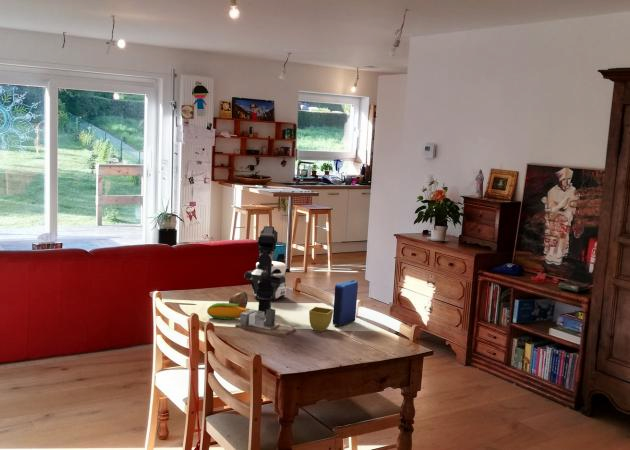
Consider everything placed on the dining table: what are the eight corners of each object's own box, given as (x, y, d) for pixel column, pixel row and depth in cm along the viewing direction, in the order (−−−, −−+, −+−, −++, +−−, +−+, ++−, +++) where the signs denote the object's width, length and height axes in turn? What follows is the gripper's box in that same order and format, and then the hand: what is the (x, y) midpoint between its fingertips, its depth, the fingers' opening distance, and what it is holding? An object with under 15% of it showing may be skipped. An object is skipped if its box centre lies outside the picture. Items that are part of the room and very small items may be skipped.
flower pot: (332, 328, 310) (333, 309, 308) (326, 333, 301) (327, 313, 300) (314, 325, 312) (315, 306, 311) (307, 330, 304) (308, 310, 303)
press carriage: (258, 321, 310) (259, 304, 308) (279, 325, 305) (280, 308, 304) (248, 325, 302) (249, 308, 301) (270, 330, 298) (271, 312, 296)
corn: (208, 299, 317) (251, 301, 319) (207, 315, 319) (251, 316, 320) (206, 304, 310) (251, 306, 311) (206, 320, 312) (250, 322, 313)
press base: (249, 320, 314) (250, 307, 313) (295, 330, 303) (296, 317, 302) (235, 326, 303) (235, 313, 303) (282, 337, 293) (282, 323, 292)
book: (347, 319, 325) (350, 278, 322) (357, 322, 322) (360, 280, 319) (330, 325, 313) (333, 283, 311) (340, 328, 310) (343, 285, 308)
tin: (233, 314, 323) (233, 297, 321) (227, 313, 324) (227, 296, 322) (247, 307, 336) (248, 290, 335) (242, 306, 338) (242, 289, 336)
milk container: (252, 293, 365) (254, 259, 363) (284, 294, 367) (286, 261, 365) (252, 301, 348) (254, 266, 346) (286, 302, 350) (288, 268, 347)
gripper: (238, 261, 308) (236, 295, 310) (274, 267, 299) (272, 302, 301) (251, 258, 317) (250, 291, 320) (286, 263, 309) (285, 297, 311)
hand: (263, 295), depth 313 cm, fingers open, 9 cm apart
